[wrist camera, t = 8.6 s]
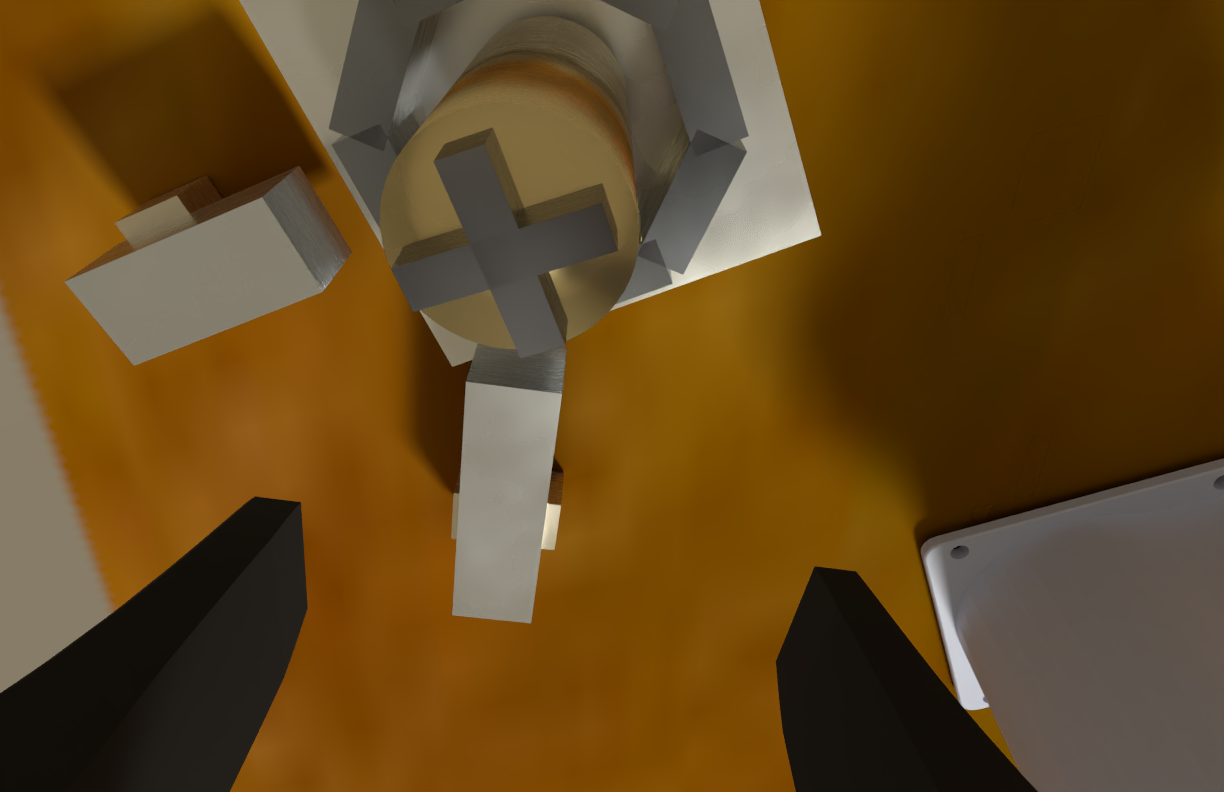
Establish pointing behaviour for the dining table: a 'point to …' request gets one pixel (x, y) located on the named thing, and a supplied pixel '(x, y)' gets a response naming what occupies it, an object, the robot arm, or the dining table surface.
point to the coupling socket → (315, 250)
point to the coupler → (519, 192)
